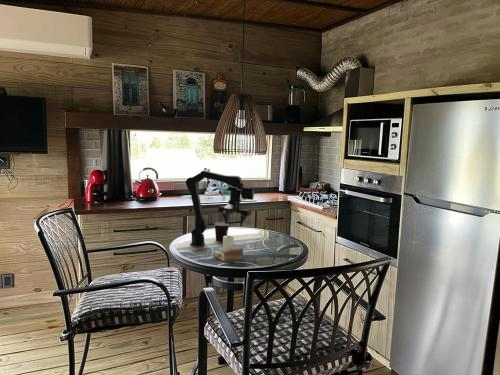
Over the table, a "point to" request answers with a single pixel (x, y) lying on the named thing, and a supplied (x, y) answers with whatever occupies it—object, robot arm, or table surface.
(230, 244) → the paper roll
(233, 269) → the table surface
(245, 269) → the table surface
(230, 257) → the holder
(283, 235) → the table surface
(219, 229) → the coffee mug
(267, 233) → the table surface
